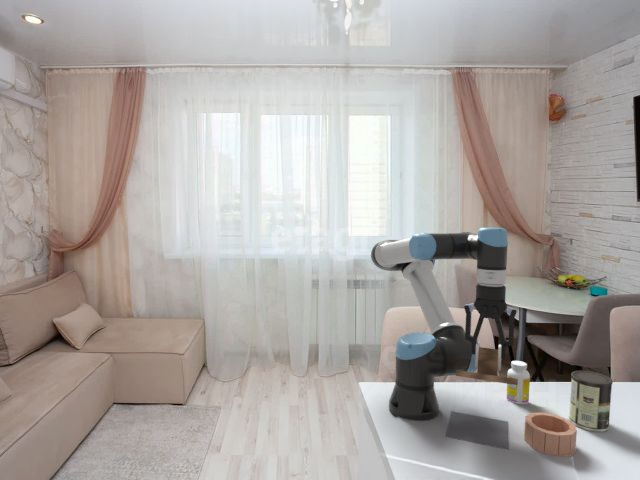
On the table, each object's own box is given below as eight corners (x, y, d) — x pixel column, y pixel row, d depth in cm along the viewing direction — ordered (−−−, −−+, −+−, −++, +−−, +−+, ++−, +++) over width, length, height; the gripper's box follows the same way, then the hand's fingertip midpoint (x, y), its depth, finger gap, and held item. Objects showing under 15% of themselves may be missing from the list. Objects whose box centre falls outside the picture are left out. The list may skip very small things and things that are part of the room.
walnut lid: (455, 375, 117) (458, 343, 120) (461, 376, 131) (463, 347, 133) (517, 385, 111) (518, 350, 114) (516, 385, 125) (517, 354, 127)
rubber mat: (445, 438, 121) (445, 436, 121) (451, 412, 136) (451, 411, 136) (508, 451, 115) (508, 449, 115) (507, 423, 130) (508, 421, 130)
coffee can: (600, 416, 135) (603, 371, 133) (615, 434, 125) (619, 385, 123) (563, 413, 137) (566, 368, 135) (575, 429, 127) (578, 382, 125)
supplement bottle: (527, 398, 146) (529, 361, 145) (529, 407, 140) (532, 368, 139) (505, 395, 148) (507, 358, 147) (506, 404, 142) (508, 365, 141)
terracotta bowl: (525, 451, 115) (526, 429, 115) (523, 429, 126) (524, 409, 126) (578, 462, 111) (579, 439, 110) (571, 438, 122) (572, 417, 121)
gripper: (454, 283, 121) (452, 366, 123) (527, 289, 114) (524, 377, 115) (458, 279, 128) (455, 358, 129) (527, 284, 120) (523, 368, 122)
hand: (488, 367), depth 122 cm, fingers closed on walnut lid, 5 cm apart
